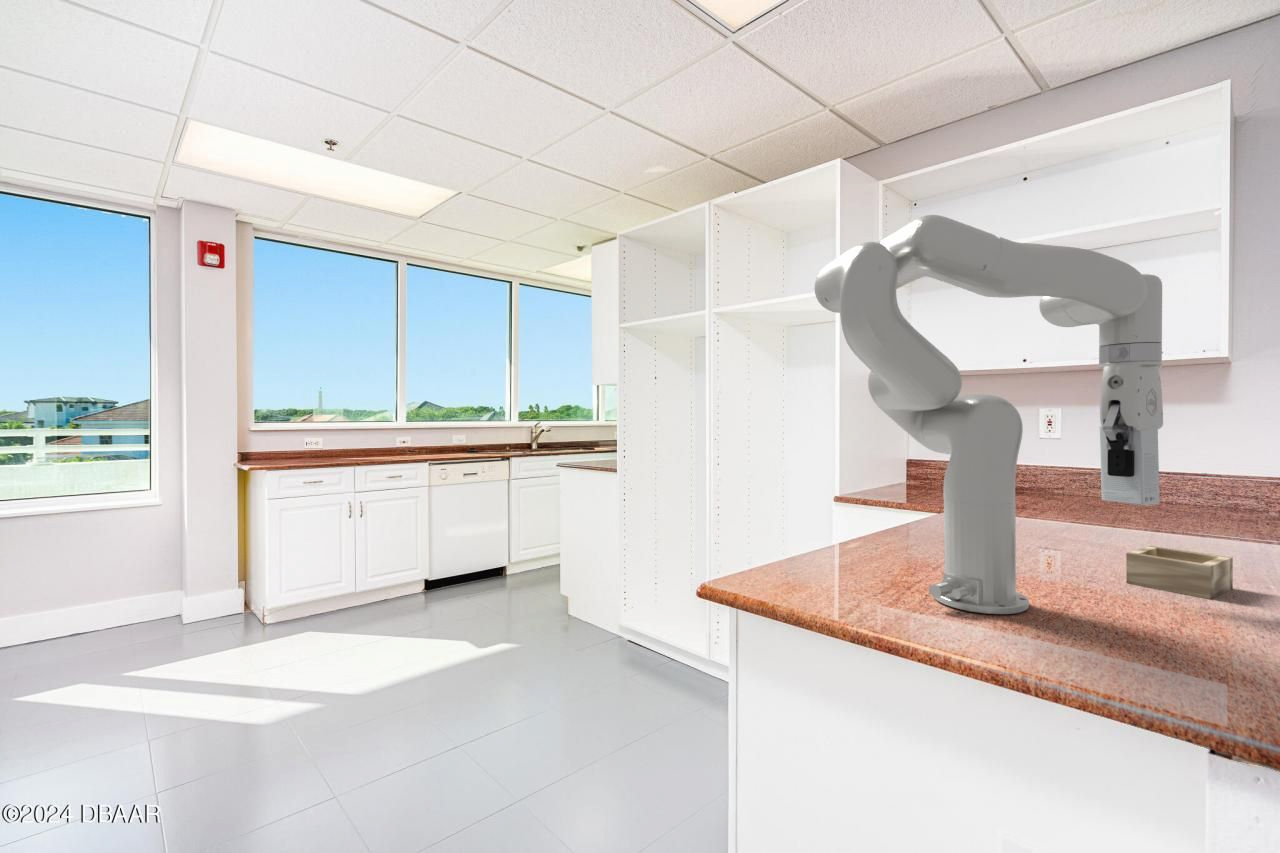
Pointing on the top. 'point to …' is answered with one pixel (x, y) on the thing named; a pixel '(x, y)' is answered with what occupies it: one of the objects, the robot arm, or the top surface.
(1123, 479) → the skincare box
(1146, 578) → the well block
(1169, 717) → the top surface
